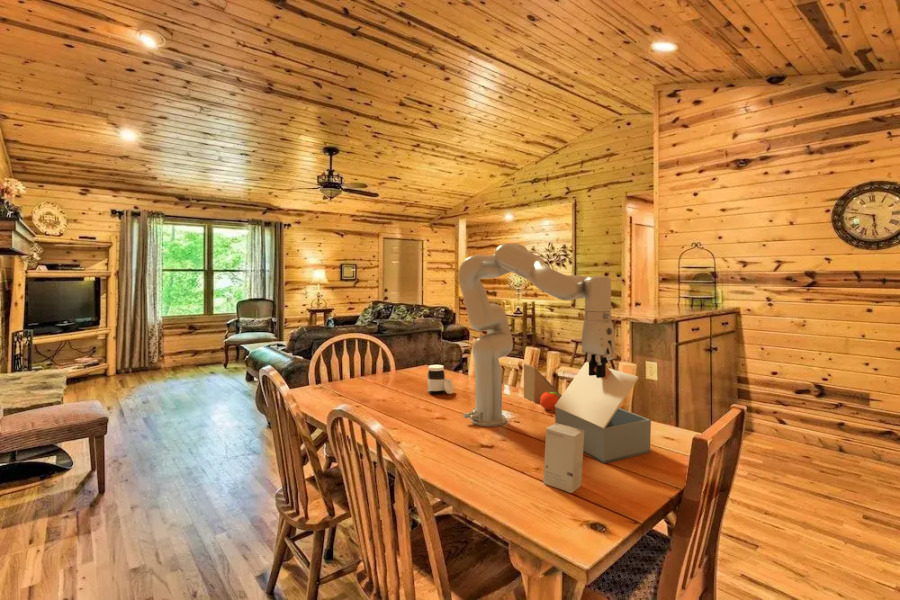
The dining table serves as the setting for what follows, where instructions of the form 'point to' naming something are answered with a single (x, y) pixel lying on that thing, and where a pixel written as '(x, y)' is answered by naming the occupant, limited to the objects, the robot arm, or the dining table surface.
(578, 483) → the skincare box
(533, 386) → the sandwich container
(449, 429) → the dining table surface
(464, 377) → the dining table surface
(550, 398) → the tomato
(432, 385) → the spread jar
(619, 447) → the carton
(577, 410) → the lid flap
